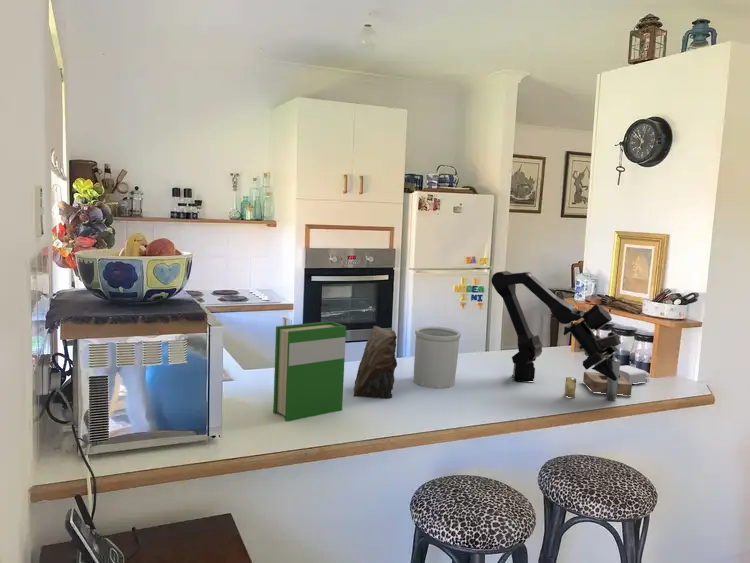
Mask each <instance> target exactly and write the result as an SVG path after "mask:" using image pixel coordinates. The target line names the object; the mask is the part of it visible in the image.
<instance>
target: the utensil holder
mask: <svg viewBox="0 0 750 563" xmlns="http://www.w3.org/2000/svg"><path fill="white" fill-rule="evenodd" d="M414 333H415V345H414V347H415V348H414V362H413V382H414V383H415V384H417V385H419V386H421V387H425V388H430V389H449V388H451V387H453V386H455V382H456V375H457V374H456V373H457V366H458V358H459V357H458V356H459V355H458V354H459V345H460V339H461V332H460V331H459V330H456V329H453V328H450V327H443V326H435V325H433V326H430V325H429V326H428V325H427V326H420V327H416V328H415V332H414Z"/></svg>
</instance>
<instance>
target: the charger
mask: <svg viewBox="0 0 750 563" xmlns="http://www.w3.org/2000/svg"><path fill="white" fill-rule="evenodd" d="M619 374H620V375H621V376H622V377H623V378H625V379H626V380H627V381H628V382H629V383H631V384H633V383H638V382H645V383H646V380H647V378H648V377H649V376H650V373H649V372H647V371H646V370H643V369H640V368H637V367H634V366H632V365H620V370H619Z"/></svg>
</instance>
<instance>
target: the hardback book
mask: <svg viewBox="0 0 750 563" xmlns="http://www.w3.org/2000/svg"><path fill="white" fill-rule="evenodd" d="M346 335H347V326H346V325H344V324H343V325H342V324H341V323H338V322H335V321H332V320H331V321H330V320H329V321H321V322H319V321H318V322H309V323H299V324H289V325H278V326H277V325H276V327H275V342H274V343H275V347H274V372H273V373H274V378H273V379H274V380H273V407H272V409H273V410H272V413H273V414H274V415H276V414H281V415H282V416H284V421H285V422H287V423H288V422H292V421H296V420H301V419H307V418H310V417H311V418H312V417H317V416H321V415H324V414H325V415H326V414H329V413H335V412H340V411H343V398H344V396H343V395H344V380H345V379H344V376H345V356H346V338H347V336H346Z"/></svg>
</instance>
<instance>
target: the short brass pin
mask: <svg viewBox="0 0 750 563" xmlns="http://www.w3.org/2000/svg"><path fill="white" fill-rule="evenodd" d="M564 383H565V385H564V394H563V396H564V395H565V396H568V397H576V396H575V395H576V387H577V378H575V377H573V376H572V377H571V376H566V377H565V382H564ZM565 396H564V397H565Z"/></svg>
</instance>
